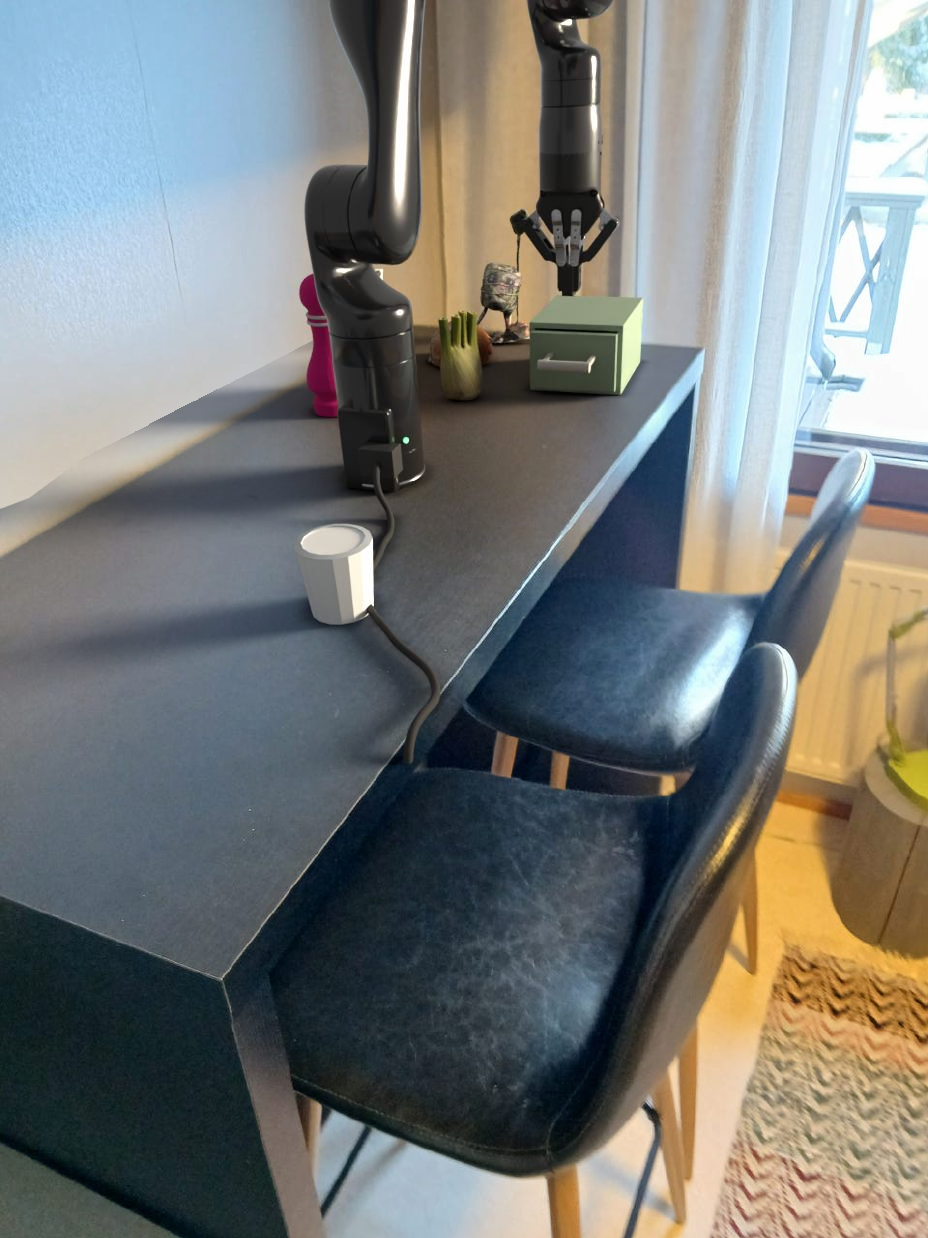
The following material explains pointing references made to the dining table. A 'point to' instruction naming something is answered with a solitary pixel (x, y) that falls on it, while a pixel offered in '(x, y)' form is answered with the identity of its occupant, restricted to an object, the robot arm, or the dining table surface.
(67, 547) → the dining table surface
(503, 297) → the grey irregular tall piece
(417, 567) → the dining table surface
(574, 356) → the green pull-out drawer
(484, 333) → the bread roll
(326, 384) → the pepper mill
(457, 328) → the fennel bulb
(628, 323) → the green drawer cabinet
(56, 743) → the dining table surface
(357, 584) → the shot glass
